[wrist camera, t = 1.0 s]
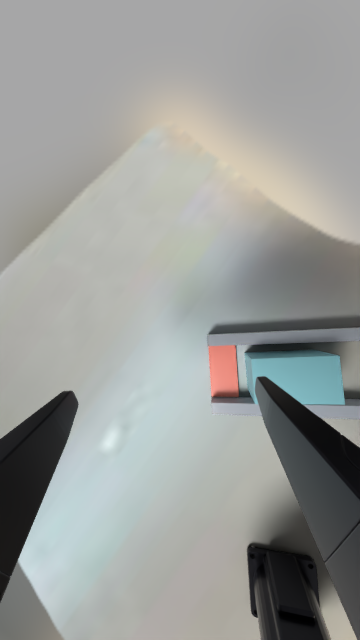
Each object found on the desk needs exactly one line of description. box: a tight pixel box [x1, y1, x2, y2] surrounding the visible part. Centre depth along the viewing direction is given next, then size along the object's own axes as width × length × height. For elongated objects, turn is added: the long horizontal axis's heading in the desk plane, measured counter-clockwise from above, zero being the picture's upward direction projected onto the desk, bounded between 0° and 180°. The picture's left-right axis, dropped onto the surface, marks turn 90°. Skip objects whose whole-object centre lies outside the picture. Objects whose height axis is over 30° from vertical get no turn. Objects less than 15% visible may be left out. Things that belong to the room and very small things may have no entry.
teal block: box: [245, 350, 345, 405], centre depth 19 cm, size 4×7×4 cm, turn 94°
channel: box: [207, 327, 360, 419], centre depth 19 cm, size 8×24×2 cm, turn 93°
